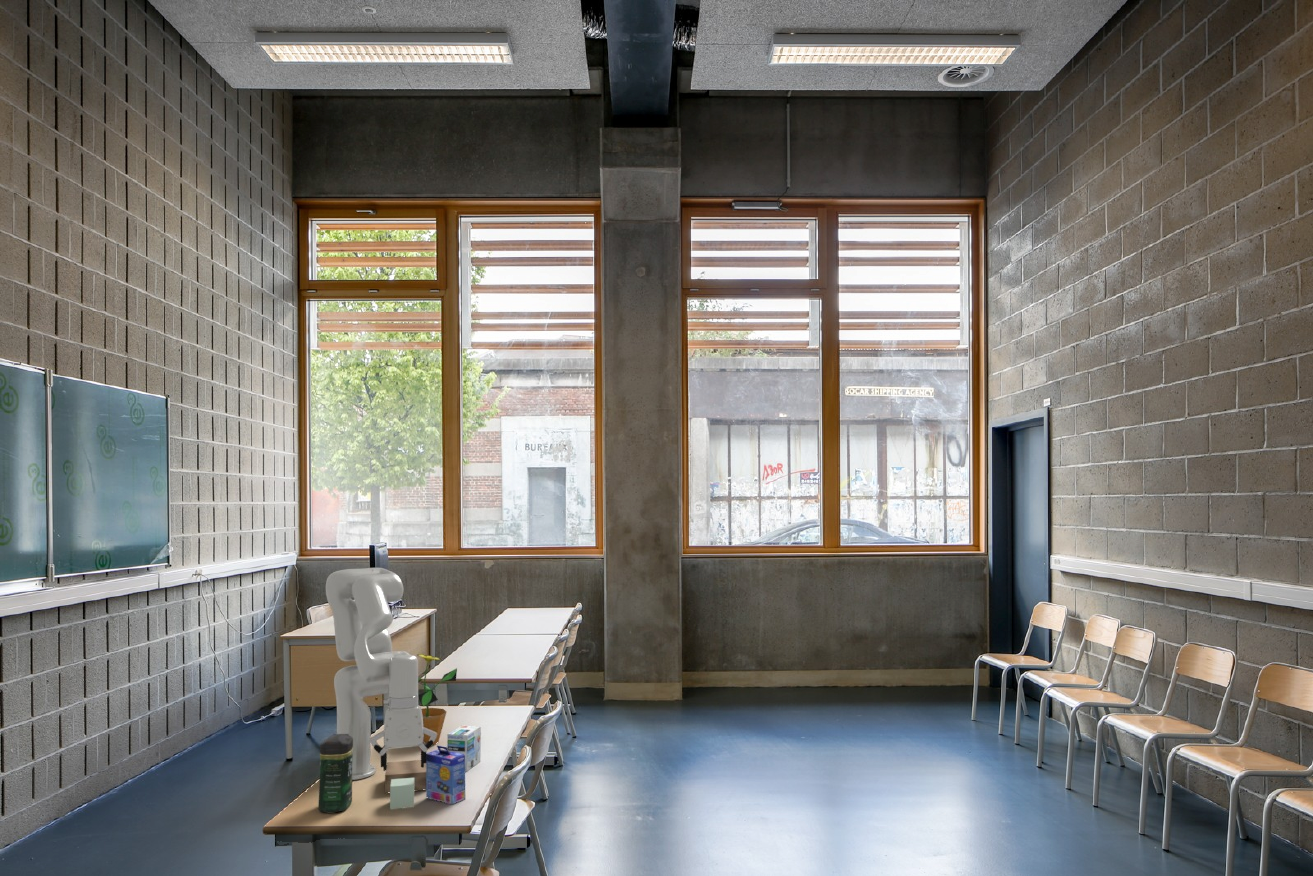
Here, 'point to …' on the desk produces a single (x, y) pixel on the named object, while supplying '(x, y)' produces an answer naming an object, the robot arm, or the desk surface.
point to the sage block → (402, 793)
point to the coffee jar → (335, 773)
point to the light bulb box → (466, 744)
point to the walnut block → (406, 773)
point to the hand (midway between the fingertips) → (403, 767)
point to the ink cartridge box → (445, 776)
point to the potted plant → (431, 716)
